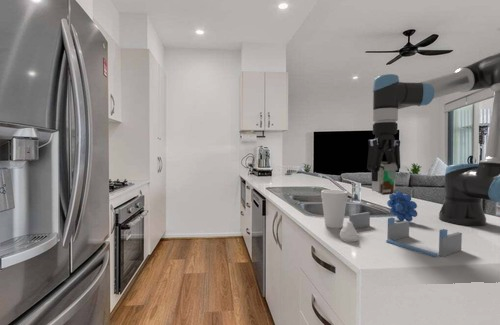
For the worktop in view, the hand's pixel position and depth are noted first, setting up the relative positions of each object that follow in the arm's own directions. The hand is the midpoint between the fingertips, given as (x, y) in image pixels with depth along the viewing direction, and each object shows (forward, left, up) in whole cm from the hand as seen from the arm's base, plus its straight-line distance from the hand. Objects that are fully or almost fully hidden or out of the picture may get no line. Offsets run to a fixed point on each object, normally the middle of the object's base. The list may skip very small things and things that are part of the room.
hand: (383, 190), depth 94 cm
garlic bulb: (+16, -1, -15) cm, 22 cm away
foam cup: (+7, -15, -15) cm, 23 cm away
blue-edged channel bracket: (0, +6, -15) cm, 16 cm away
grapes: (-22, -7, -15) cm, 28 cm away
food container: (-1, 0, -1) cm, 1 cm away
